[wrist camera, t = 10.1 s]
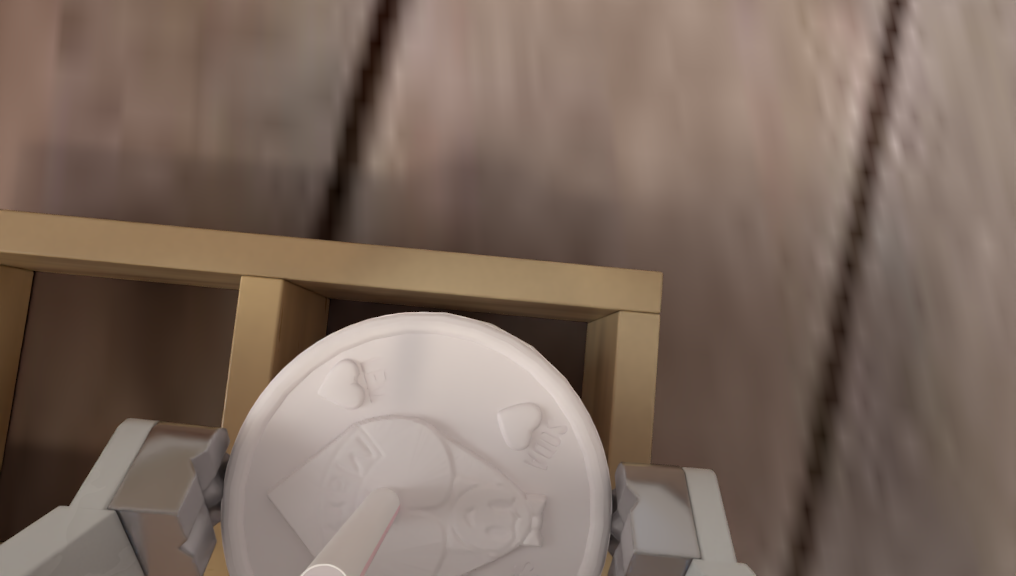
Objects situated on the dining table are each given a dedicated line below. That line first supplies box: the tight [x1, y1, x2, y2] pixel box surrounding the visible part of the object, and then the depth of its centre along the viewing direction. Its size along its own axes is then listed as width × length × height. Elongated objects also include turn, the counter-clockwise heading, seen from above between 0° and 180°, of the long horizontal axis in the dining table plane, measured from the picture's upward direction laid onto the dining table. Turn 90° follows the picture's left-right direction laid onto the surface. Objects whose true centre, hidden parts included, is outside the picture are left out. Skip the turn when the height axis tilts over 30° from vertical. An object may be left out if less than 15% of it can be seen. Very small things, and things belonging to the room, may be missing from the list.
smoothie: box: [221, 312, 612, 576], centre depth 14 cm, size 6×6×14 cm
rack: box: [0, 209, 663, 576], centre depth 18 cm, size 10×19×5 cm, turn 85°
